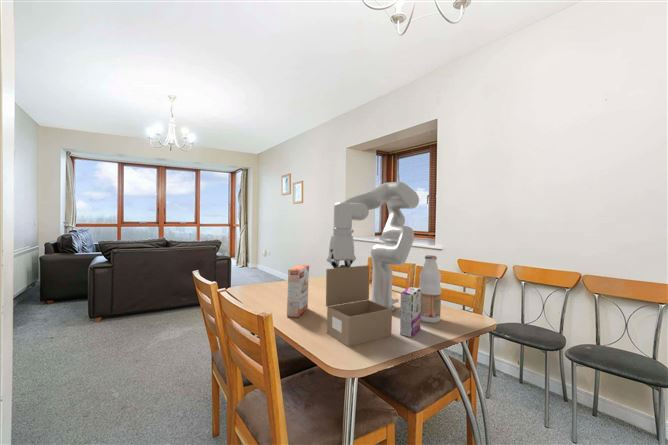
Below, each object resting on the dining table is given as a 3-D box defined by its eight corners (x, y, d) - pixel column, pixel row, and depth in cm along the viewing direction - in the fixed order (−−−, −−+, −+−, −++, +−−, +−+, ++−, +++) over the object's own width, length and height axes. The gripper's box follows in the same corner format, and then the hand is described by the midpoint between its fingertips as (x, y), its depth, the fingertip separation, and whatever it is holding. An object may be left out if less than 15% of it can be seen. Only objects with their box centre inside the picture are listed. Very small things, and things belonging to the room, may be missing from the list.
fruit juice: (417, 321, 130) (419, 256, 129) (417, 314, 139) (419, 254, 138) (441, 324, 127) (443, 258, 127) (439, 317, 136) (441, 255, 136)
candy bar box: (408, 326, 124) (409, 286, 124) (420, 328, 122) (421, 288, 121) (399, 335, 115) (400, 292, 114) (412, 338, 112) (413, 294, 112)
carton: (367, 323, 126) (368, 299, 126) (391, 335, 114) (392, 309, 114) (326, 333, 115) (326, 306, 115) (347, 347, 103) (348, 317, 103)
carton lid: (368, 299, 126) (358, 295, 132) (369, 264, 126) (359, 262, 131) (326, 306, 115) (318, 302, 121) (327, 268, 115) (318, 266, 120)
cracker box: (299, 318, 131) (300, 270, 131) (286, 316, 132) (287, 269, 132) (308, 308, 145) (309, 264, 144) (296, 307, 146) (297, 264, 145)
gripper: (353, 231, 132) (352, 273, 133) (320, 232, 123) (319, 277, 124) (364, 232, 126) (362, 276, 126) (330, 233, 117) (328, 280, 117)
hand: (341, 276), depth 125 cm, fingers closed on carton lid, 4 cm apart
